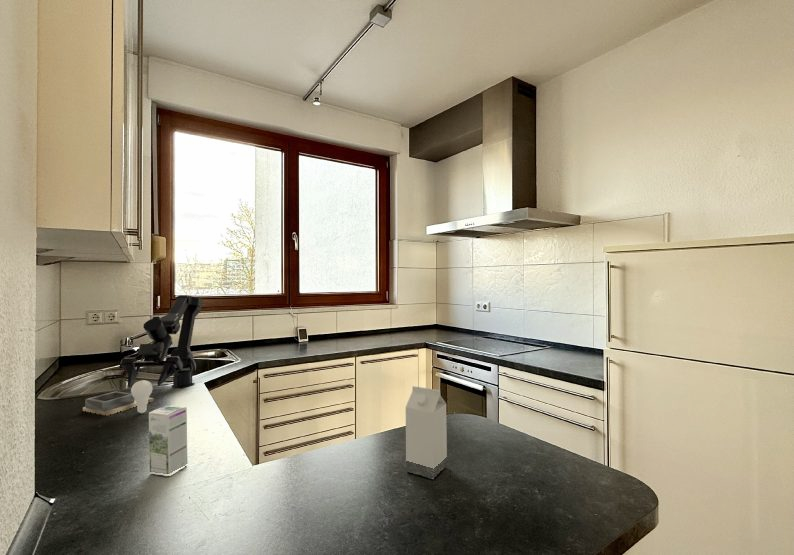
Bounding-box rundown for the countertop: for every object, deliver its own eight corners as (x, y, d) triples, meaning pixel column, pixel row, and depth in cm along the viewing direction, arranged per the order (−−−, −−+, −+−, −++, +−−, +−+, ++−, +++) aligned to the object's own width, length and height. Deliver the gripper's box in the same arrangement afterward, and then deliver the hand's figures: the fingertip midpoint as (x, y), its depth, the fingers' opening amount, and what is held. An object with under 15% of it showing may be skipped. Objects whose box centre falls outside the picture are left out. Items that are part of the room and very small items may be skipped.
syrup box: (188, 466, 93) (188, 405, 93) (168, 478, 87) (167, 414, 87) (169, 463, 94) (169, 403, 94) (148, 475, 89) (147, 412, 89)
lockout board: (130, 397, 148) (130, 386, 148) (153, 401, 143) (153, 390, 143) (82, 410, 133) (82, 398, 133) (106, 415, 128) (106, 403, 128)
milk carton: (420, 460, 95) (419, 382, 95) (447, 467, 91) (446, 386, 91) (405, 473, 89) (405, 390, 89) (434, 481, 85) (433, 394, 85)
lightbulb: (132, 411, 132) (132, 379, 132) (154, 409, 134) (153, 377, 134) (129, 417, 126) (129, 383, 126) (151, 414, 129) (151, 381, 129)
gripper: (122, 335, 136) (103, 374, 125) (179, 333, 138) (165, 371, 127) (135, 353, 143) (117, 391, 132) (188, 351, 146) (175, 389, 135)
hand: (143, 385), depth 131 cm, fingers open, 9 cm apart
